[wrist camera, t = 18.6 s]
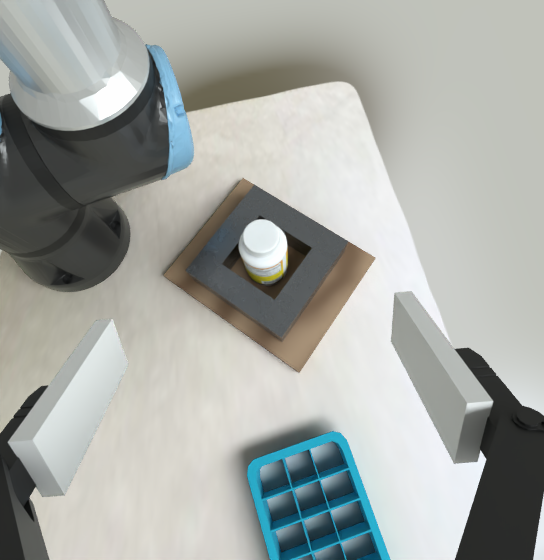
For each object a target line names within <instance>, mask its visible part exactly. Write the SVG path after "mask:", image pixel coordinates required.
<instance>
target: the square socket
mask: <svg viewBox="0 0 544 560" xmlns="http://www.w3.org/2000/svg"><path fill="white" fill-rule="evenodd" d="M259 219H264V220H268V221H271V222H272V223H274V224H275V225H276V226H278V227H279V228H280V229H281V230H282V231H283V233H284V234H285V236H286V239H287V245H289V246H290V247H292V248H293V249H295V250H297V251H298V252H300V253H301V254H303V255H304V256H306V257H305V259H304V260H303V261H302V263H301V264H300V265H299V267H298V268H297V270H296V271H295V272H294V274H293V275H292V277H291V278H290V279H289V281H288V282H287V284H286V285H285V286H284V288H283V289H282V290H281V292H280V293H279V295H278V296H277V297H276V299H275V300H274V299H273V298H271V297H270V296H268V295H267V294H265V293H264V292H262V291H261V290H259V289H258V288H256V287H255V286H254V285H252V284H251V283H249V282H248V281H246V280H245V279H243V278H242V277H240V276H239V275H237V274H236V273H234V272H233V271H231V268H232V267H233V266H234V264H235V263H236V262H237V260H238V259H239V258H240V257H241V255H240V252H239V240H240V237H241V235H242V233H243V232H244V230H245V228H246V226H247V225H248V224H249V223H251V222H253V221H255V220H259ZM347 244H348V241H347V240H345V239H343V238H342V237H340V236H338V235H337V234H335V233H334V232H332V231H330V230H329V229H327V228H325V227H324V226H322V225H320V224H319V223H317V222H315V221H314V220H312V219H310V218H309V217H307V216H305V215H304V214H302V213H300V212H299V211H297V210H295V209H294V208H292V207H290V206H289V205H287V204H285V203H284V202H282V201H280V200H279V199H277V198H275V197H274V196H272V195H270V194H269V193H267V192H265V191H264V190H262V189H261V188H259V187H257V186H256V185H254V186H253V187H252V188H251V189H250V191H249V192H248V193H247V194H246V195H245V197H244V198H243V199H242V200H241V202H240V203H239V204H238V205H237V207H236V208H235V209H234V210H233V212H232V213H231V214H230V215H229V217H228V218H227V219H226V220H225V222H224V223H223V224H222V225H221V227H220V228H219V229H218V230H217V232H216V233H215V234H214V235H213V237H212V238H211V239H210V240H209V241H208V243H207V244H206V245H205V246H204V248H203V249H202V250H201V251H200V253H199V254H198V255H197V256H196V258H195V259H194V260H193V261H192V263H191V264H190V265H189V266H188V268H187V269H186V270H185V271H186V272H187V273H188V274H189V275H190V276H191V278H192V279H193V280H194V281H196V282H197V283H198V284H200V285H201V286H203V287H204V288H206V289H207V290H208V291H210V292H211V293H213V294H214V295H216V296H217V297H218V298H220V299H221V300H223V301H224V302H226V303H227V304H228V305H230V306H231V307H233V308H234V309H236V310H237V311H238V312H240V313H241V314H243V315H244V316H246V317H247V318H248V319H250V320H251V321H253V322H254V323H256V324H257V325H258V326H260V327H261V328H263V329H264V330H265V331H267V332H268V333H270V334H271V335H273V336H274V337H275V338H277V339H278V340H280V341H281V342H283V340H284V339H285V338H286V336H287V335H288V333H289V332H290V330H291V329H292V327H293V326H294V325H295V323H296V322H297V320H298V319H299V317H300V316H301V314H302V313H303V312H304V310H305V309H306V307H307V306H308V304H309V303H310V301H311V300H312V299H313V297H314V296H315V294H316V293H317V291H318V290H319V288H320V287H321V286H322V284H323V283H324V281H325V280H326V278H327V277H328V275H329V274H330V273H331V271H332V270H333V268H334V267H335V265H336V264H337V262H338V261H339V260H340V258H341V257H342V255H343V254H344V251H345V249H346V246H347Z"/></svg>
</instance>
